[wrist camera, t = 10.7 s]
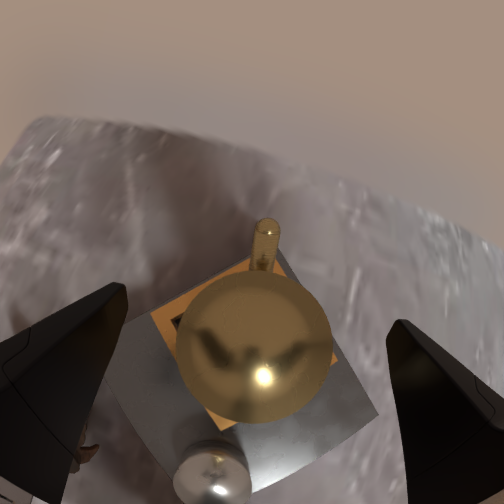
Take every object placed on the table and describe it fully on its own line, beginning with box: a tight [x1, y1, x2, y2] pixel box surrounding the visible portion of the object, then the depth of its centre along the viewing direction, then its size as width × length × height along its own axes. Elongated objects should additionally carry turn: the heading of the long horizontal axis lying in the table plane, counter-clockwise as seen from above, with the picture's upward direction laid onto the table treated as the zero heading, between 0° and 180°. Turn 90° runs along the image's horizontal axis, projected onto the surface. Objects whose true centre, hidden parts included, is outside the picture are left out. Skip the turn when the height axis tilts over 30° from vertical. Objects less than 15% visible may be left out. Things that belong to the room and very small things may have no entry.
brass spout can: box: [176, 218, 333, 424], centre depth 15 cm, size 8×5×13 cm
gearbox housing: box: [104, 248, 379, 504], centre depth 18 cm, size 16×16×6 cm
